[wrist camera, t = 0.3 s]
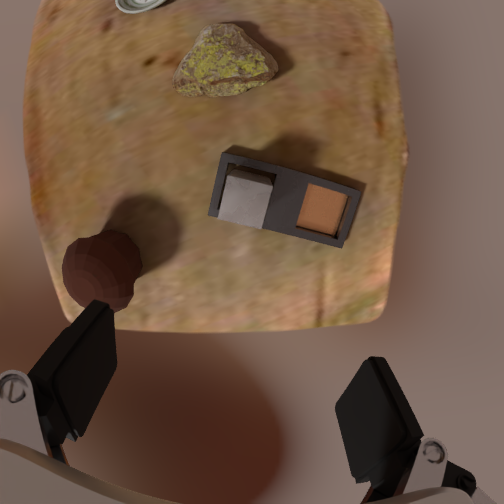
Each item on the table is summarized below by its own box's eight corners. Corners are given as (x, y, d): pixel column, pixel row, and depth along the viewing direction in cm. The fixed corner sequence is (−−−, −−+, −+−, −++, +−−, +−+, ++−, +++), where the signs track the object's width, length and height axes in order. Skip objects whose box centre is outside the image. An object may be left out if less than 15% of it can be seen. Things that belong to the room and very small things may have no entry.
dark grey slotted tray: (223, 152, 32) (221, 152, 31) (357, 189, 34) (361, 191, 32) (209, 212, 35) (207, 215, 34) (338, 244, 37) (341, 248, 35)
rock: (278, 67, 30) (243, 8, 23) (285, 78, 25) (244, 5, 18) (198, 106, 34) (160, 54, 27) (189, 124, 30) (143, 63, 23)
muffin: (144, 220, 36) (112, 246, 26) (157, 290, 40) (133, 330, 30) (79, 225, 36) (40, 249, 26) (94, 288, 40) (64, 322, 31)
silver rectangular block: (233, 168, 33) (227, 175, 26) (268, 177, 33) (272, 186, 26) (225, 202, 35) (217, 218, 27) (259, 210, 35) (261, 229, 28)
